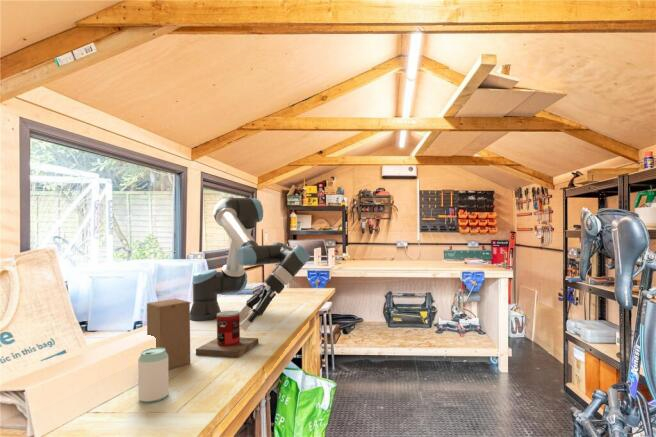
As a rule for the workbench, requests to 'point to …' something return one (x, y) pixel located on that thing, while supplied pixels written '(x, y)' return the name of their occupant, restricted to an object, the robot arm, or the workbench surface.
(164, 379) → the can
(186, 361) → the wooden block
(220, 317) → the canned food
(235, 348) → the walnut board
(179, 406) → the workbench surface
